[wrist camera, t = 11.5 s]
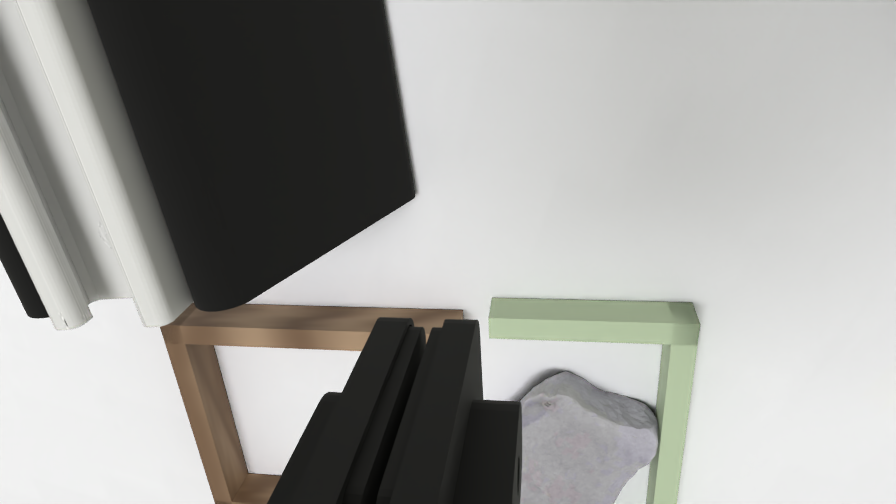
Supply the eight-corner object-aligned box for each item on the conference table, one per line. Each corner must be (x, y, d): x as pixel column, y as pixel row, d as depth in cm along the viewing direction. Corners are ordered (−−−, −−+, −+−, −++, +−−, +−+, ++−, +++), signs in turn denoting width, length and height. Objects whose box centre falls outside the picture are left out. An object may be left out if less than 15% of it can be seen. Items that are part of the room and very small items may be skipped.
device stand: (104, 215, 43) (-96, 335, 30) (-48, -169, 34) (-440, -241, 21) (417, 191, 39) (345, 320, 26) (344, -258, 29) (167, -423, 16)
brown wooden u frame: (462, 310, 42) (456, 334, 39) (474, 504, 50) (470, 536, 47) (182, 302, 45) (159, 325, 43) (235, 485, 53) (218, 513, 50)
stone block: (472, 447, 50) (584, 516, 48) (454, 486, 45) (575, 563, 44) (542, 334, 45) (669, 409, 43) (529, 367, 40) (669, 450, 39)
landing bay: (692, 302, 39) (700, 324, 37) (664, 528, 48) (669, 557, 45) (492, 297, 41) (488, 318, 39) (500, 515, 50) (497, 542, 47)
